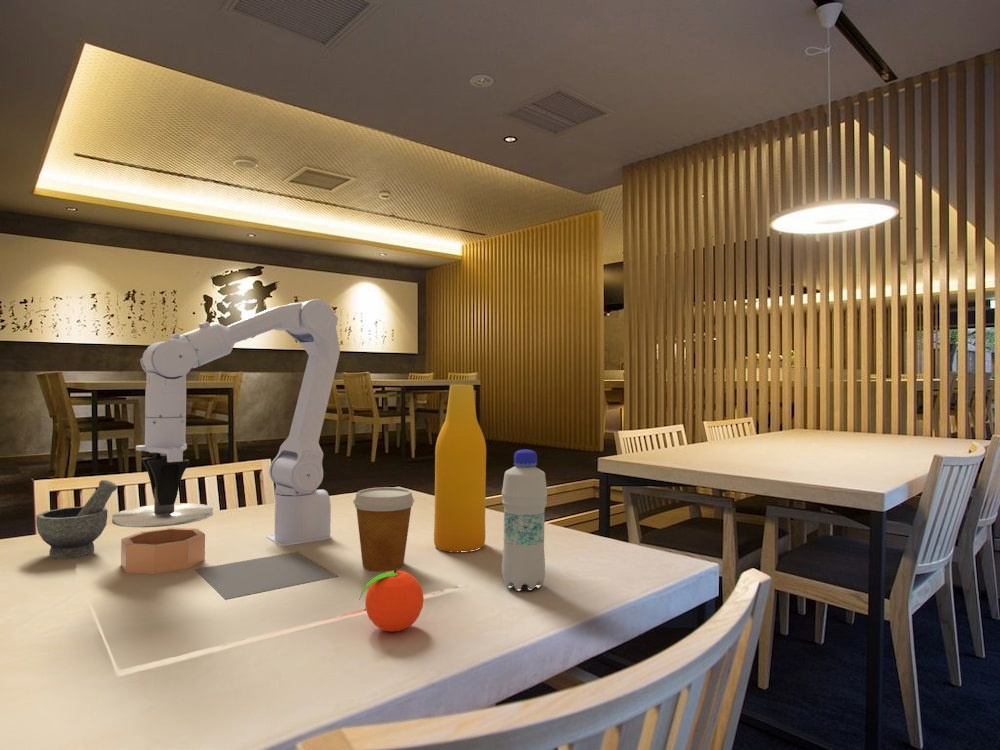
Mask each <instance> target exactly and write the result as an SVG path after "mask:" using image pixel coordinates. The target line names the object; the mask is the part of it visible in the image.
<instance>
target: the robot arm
mask: <svg viewBox="0 0 1000 750" xmlns="http://www.w3.org/2000/svg"><path fill="white" fill-rule="evenodd" d="M338 320H339V318H338V316H337V314H336V313H335V312H334V310H333V309H332V307H331V306H330V305H329V304H328V303H327V302H326V301H324V300H322V299H316V298H315V299H311V300H308V301H302V302H291V303H289V304H285V305H280V306H273V307H270V308H268V309H265V310H263V311H260V312H258V313H255V314H253V315H251V316H248V317H245V318H244V319H241V320H239V321H236V322H233V323H232V324H229V325H226V326H225V325H224V324H221V323H219V322H211V323H210V322H209V321H204V322H201V323H199V324H198V328H195V329H193V330H191V331H188V332H185V333H182V334H180V333H178V332H177V333H174V334H171V335H170V336H169V337H170V339H167V340H166V341H159V342H154V343H152V344H151V345H149V346H147V348H146V349H145V350H144V352H143V354H142V357H141V358H140V365H141V368H142V370H143V371H144V372H145V373H146V378H145V379H146V382H145V383H146V385H145V386H146V387H145V395H144V396H145V397H144V399H145V400H144V405H145V407H144V444H143V445H142V444H140V445H135V450H136V451H137V452H149V453H151V454H153V455H152V456H151V457H149V456H147V457H141V462H142V464H143V465H144V467H145V469H146V472H147V474H148V477H149V478H148V479H149V482H150V487H151V492H152V496H153V500H154V499H155V487H156V493H157V499H158V503H159V505H170V504H176V500H177V497H178V492H179V487H180V485H181V481H182V477H183V476H184V473H185V471H186V469H187V468H188V466H189V464H190V460H189V459H187V458H186V459H184V458H183V457H184V451H186V450H187V449H188V445H187V443H186V441H187V440H186V433H187V432H186V428H187V427H186V426H187V424H186V423H187V384H186V383H187V374H188V373H189V372H190V371H191V369H195V368H199V367H201V366H203V365H206V364H208V363H210V362H212V361H215V360H217V359H221V358H223V357H225V356H227V355H230V354H231V353H232V351H233V348H234V346H235V344H237V343H240V342H242V341H246V340H248V339H250V338H253V337H256V336H259V335H261V334H264V333H268V332H270V331H272V330H275V331H279V332H280V331H284V332H285V333H287V334H288V335H289V336H290V337H291V338H293V339H294V340H296V342H298V343H299V344H300V345H301V346H302V347H303V349H304V351H305V352H306V353H307V355H308V357H307V361H306V367H305V370H304V373H303V374H304V375H303V378H302V382H301V386H300V390H299V394H298V397H297V402H296V406H295V411H294V415H293V418H292V422H291V426H290V430H289V434H288V437H287V438H286V439H285V440H284V441H283V442H282V444H281V445H280V446H279V450H278V452H277V454H276V456H275V458H273V460H272V461H271V463H270V465H269V471H268V472H269V477H270V479H271V481H272V482H273V483H274V485H275V489H274V496H275V497H274V534H271V535H270V534H269V535H267V536H266V538H267V539H269V540H270V541H271V542H273V543H275V544H277V545H278V546H280V547H286V546H287V547H288V546H294V545H299V544H304V543H311V542H312V543H313V542H318V541H322V540H323V541H324V540H328V539H333V537H332V536H331V522H332V521H331V513H332V512H331V509H332V508H331V507H332V506H331V498H330V495H329V493H328V491H327V490H325V489H317V488H319V486H320V485H321V484H322V482H323V478H324V468H323V458H324V452H323V450H322V448H321V446H320V443H319V441H320V438H321V437H320V436H321V433H322V428H323V425H324V421H325V416H326V413H327V409H328V408H327V407H328V404H329V400H330V395H331V392H332V386H333V383H334V378H335V374H336V370H337V366H338V362H339V358H340V353H341V348H340V344H339V343H340V342H339V337H338V333H337V332H338V330H337V325H338Z"/></svg>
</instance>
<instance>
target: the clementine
mask: <svg viewBox="0 0 1000 750" xmlns="http://www.w3.org/2000/svg"><path fill="white" fill-rule="evenodd" d="M367 588H368V589H367ZM365 590H367V592H366V594H365V610H366V614H367V616H368V619H369V620H370V622H372V623H373V624H374V626H376V627H377V628H379V629H380V630H383V631H385V632H400V631H405V630H406V629H407V628H409V627H410V626H412V625H414V623H415V622H416V621H417V619H418V618H419V617H420V614H421V612H422V609H423V606H424V600H425V599H424V592H423V589H422V586H421V585H420V582H419V581H418V580H417V578H416V577H414V576H413V575H412V574H410V573H408V572H406V571H404V570H399V569H395V570H391V571H384V572H382V573H380V574H378V575H376V576H374V577H372V579H370V580H369V581H368V582H367V583H366V584H365V586H364V587H363V589H362V590H361V594H360V597H359V598H358V599H359V601H360V599H361V597H362V596H363V594H364V592H365Z"/></svg>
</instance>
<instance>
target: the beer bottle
mask: <svg viewBox="0 0 1000 750" xmlns="http://www.w3.org/2000/svg"><path fill="white" fill-rule="evenodd" d="M438 433H439V434H438V436H437V439H436V443H435V451H434V455H435V457H434V458H435V459H434V462H435V463H434V474H435V475H434V524H433V525H434V526H433V527H434V528H433V543H434V547H436V548H435V549H437V548H438V550H439V549H440V551H442V550H444V551H443V552H446V551H452V552H451V553H453V552H457V551H458V552H461V551H471V550H476V549H478V548H481V547H482V548H484V546H485V544H486V490H487V489H486V484H487V483H486V481H487V480H486V479H487V443H486V440H485V439H486V438H485V437H484V433H483V431H482V427H481V426H480V424H479V422H478V418H477V412H476V400H475V389H474V385H473V384H450V385H449V392H448V400H447V409H446V415H445V420H444V423H443V424H442V426H441V429H440V430H439V432H438ZM482 548H481V549H482Z"/></svg>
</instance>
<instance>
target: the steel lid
mask: <svg viewBox="0 0 1000 750" xmlns="http://www.w3.org/2000/svg"><path fill="white" fill-rule="evenodd" d="M153 500H154V503H153V504H151V505H143V506H137V507H133V508H128V509H123V510H121V511H117V512H116V513H114V514H113V515H111V517H112V518H111V519H112V520H111V524H112V525H115V526H119V527H125V528H160V527H161V528H162V527H169V526H170V527H171V526H178V525H179V526H180V525H186V524H191V523H192V524H193V523H195V522H200V521H202V520H206V519H208V518H210V517H212V516H213V515H214V513H213V512H214V508H213V506H211V505H208V504H202V503H186V502H185V503H184V502H183V503H181V502H180V503H179V502H178V503H174V504H170V505H159V503H158V499H157V493H156V487H155V499H154V498H153Z"/></svg>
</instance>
